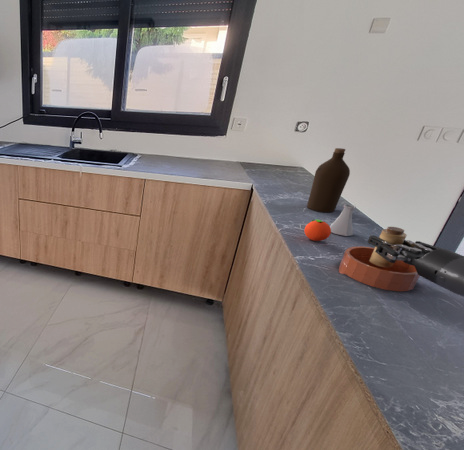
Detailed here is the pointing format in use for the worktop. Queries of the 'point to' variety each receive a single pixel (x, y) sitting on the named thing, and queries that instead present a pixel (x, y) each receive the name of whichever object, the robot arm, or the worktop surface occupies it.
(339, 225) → the flask
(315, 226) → the clementine
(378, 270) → the pot
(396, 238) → the pepper mill
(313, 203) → the olive oil
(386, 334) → the worktop surface
